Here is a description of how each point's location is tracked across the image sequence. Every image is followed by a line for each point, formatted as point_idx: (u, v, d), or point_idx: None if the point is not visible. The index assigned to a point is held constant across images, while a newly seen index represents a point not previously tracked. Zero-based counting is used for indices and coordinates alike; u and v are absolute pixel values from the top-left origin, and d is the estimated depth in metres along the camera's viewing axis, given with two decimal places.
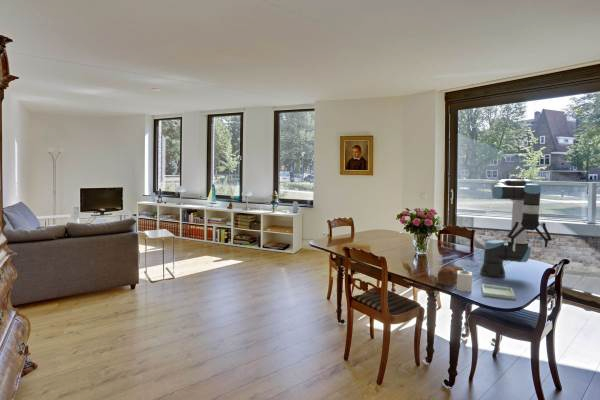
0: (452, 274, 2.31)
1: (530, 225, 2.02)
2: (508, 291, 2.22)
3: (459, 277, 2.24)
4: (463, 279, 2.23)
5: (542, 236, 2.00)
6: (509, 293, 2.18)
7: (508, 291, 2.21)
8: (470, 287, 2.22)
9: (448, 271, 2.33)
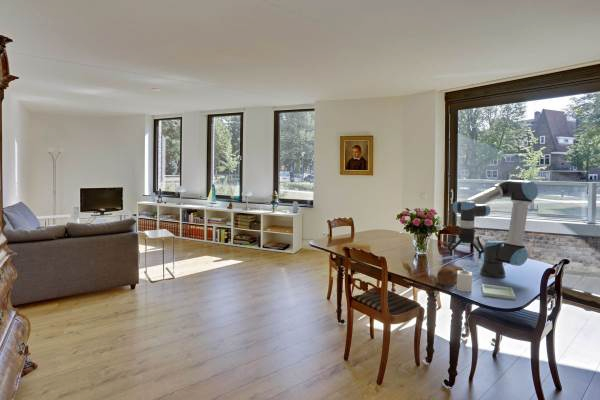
0: (452, 274, 2.31)
1: (466, 238, 2.23)
2: (508, 291, 2.22)
3: (459, 277, 2.24)
4: (463, 279, 2.23)
5: (476, 248, 2.21)
6: (509, 293, 2.18)
7: (508, 291, 2.21)
8: (470, 287, 2.22)
9: (448, 271, 2.33)
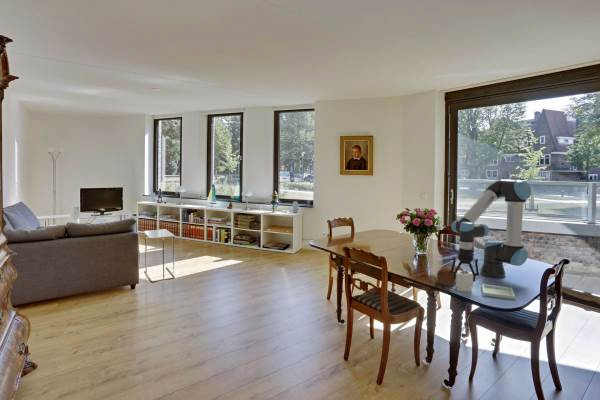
0: (451, 274, 2.32)
1: (465, 259, 2.24)
2: (508, 291, 2.22)
3: (459, 277, 2.24)
4: (463, 279, 2.23)
5: (472, 271, 2.23)
6: (509, 293, 2.18)
7: (508, 291, 2.21)
8: (470, 287, 2.22)
9: (447, 271, 2.33)
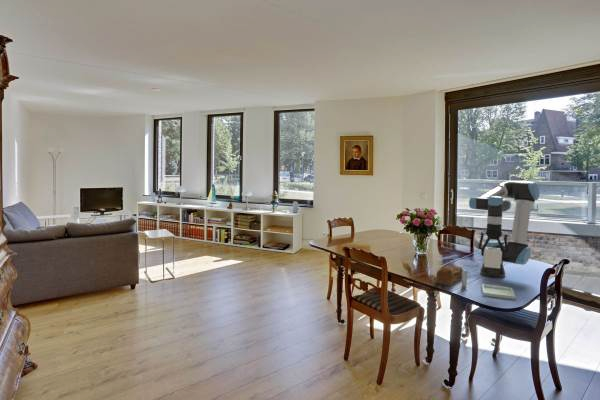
0: (451, 274, 2.32)
1: (493, 234, 2.17)
2: (508, 291, 2.22)
3: (487, 253, 2.17)
4: (491, 255, 2.16)
5: (501, 247, 2.16)
6: (509, 293, 2.18)
7: (508, 291, 2.21)
8: (499, 263, 2.15)
9: (447, 271, 2.34)
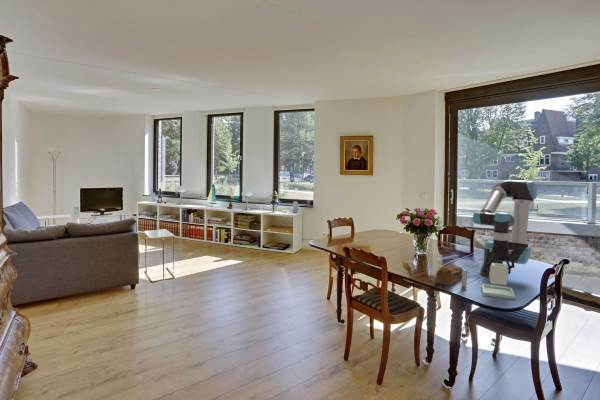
0: (450, 274, 2.32)
1: (500, 250, 2.17)
2: (508, 291, 2.22)
3: (494, 269, 2.16)
4: (498, 271, 2.15)
5: (507, 263, 2.16)
6: (509, 293, 2.18)
7: (508, 291, 2.21)
8: (505, 280, 2.14)
9: (446, 271, 2.34)
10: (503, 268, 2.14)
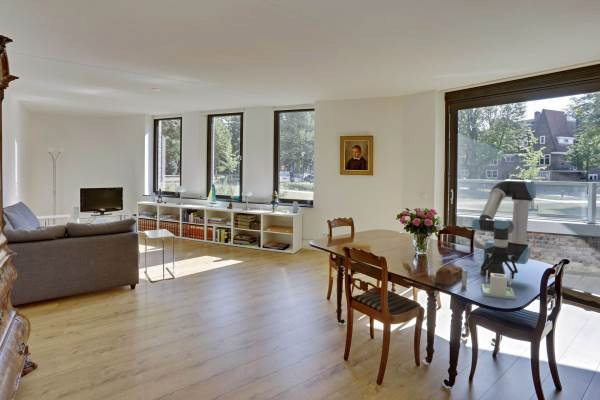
0: (450, 273, 2.32)
1: (499, 257, 2.17)
2: (508, 291, 2.22)
3: (493, 280, 2.17)
4: (497, 282, 2.16)
5: (509, 268, 2.16)
6: (509, 293, 2.18)
7: (508, 291, 2.21)
8: (505, 290, 2.15)
9: (446, 270, 2.34)
10: (502, 279, 2.15)
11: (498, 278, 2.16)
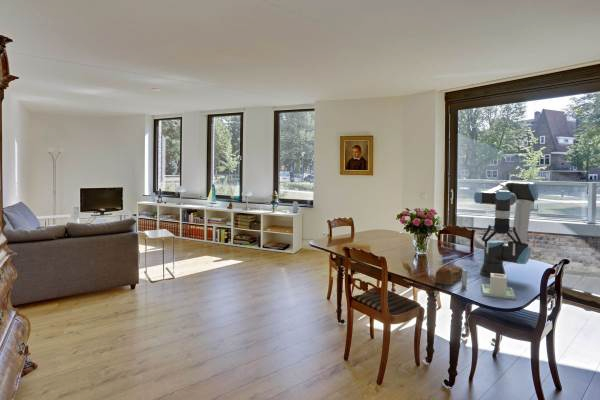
0: (450, 273, 2.33)
1: (501, 229, 2.17)
2: (508, 291, 2.22)
3: (493, 280, 2.17)
4: (497, 282, 2.16)
5: (512, 239, 2.15)
6: (509, 293, 2.18)
7: (508, 291, 2.21)
8: (505, 290, 2.15)
9: (446, 270, 2.34)
10: (502, 279, 2.15)
11: (498, 278, 2.16)
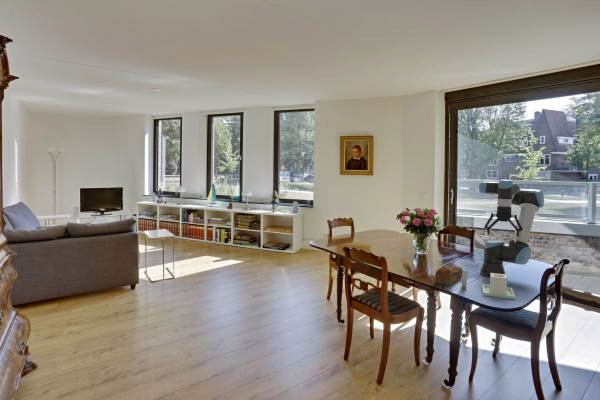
0: (449, 273, 2.33)
1: (504, 217, 2.25)
2: (508, 291, 2.22)
3: (493, 280, 2.17)
4: (497, 282, 2.16)
5: (514, 227, 2.23)
6: (509, 293, 2.18)
7: (508, 291, 2.21)
8: (505, 290, 2.15)
9: (446, 270, 2.34)
10: (502, 279, 2.15)
11: (498, 278, 2.16)
